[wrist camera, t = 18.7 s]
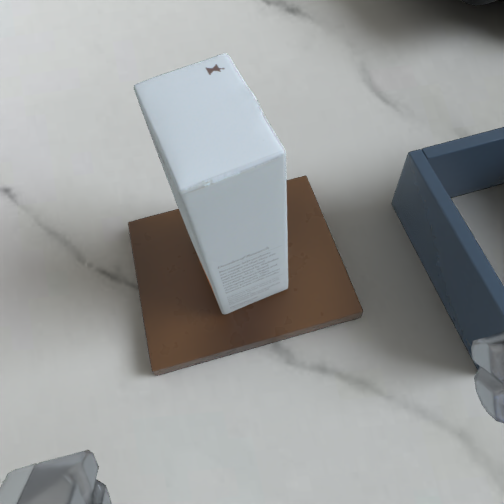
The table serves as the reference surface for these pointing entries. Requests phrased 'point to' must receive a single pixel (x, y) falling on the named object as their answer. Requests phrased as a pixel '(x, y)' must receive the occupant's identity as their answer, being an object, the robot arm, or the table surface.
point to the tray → (479, 2)
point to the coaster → (246, 318)
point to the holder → (454, 228)
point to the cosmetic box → (222, 176)
